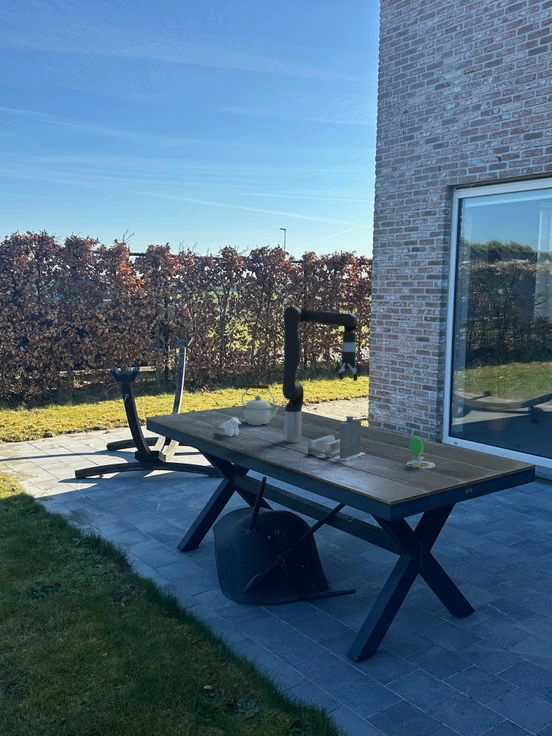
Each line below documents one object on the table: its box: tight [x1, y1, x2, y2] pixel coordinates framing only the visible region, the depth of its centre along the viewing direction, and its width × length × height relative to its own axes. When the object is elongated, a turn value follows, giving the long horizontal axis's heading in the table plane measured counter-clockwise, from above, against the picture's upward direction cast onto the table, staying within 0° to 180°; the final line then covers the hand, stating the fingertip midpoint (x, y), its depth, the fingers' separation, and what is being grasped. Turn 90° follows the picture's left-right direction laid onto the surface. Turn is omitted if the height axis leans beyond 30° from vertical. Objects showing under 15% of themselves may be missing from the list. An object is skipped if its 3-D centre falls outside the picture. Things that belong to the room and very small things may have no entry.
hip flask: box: [339, 415, 362, 458], centre depth 318 cm, size 16×4×20 cm, turn 138°
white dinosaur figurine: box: [218, 416, 242, 438], centre depth 367 cm, size 7×24×11 cm, turn 39°
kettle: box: [241, 384, 280, 426], centre depth 401 cm, size 25×18×25 cm
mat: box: [333, 451, 367, 462], centre depth 319 cm, size 8×18×1 cm, turn 142°
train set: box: [406, 436, 436, 469], centre depth 304 cm, size 15×14×14 cm
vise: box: [307, 434, 340, 459], centre depth 326 cm, size 14×19×7 cm
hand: (348, 380), depth 340 cm, fingers open, 8 cm apart
